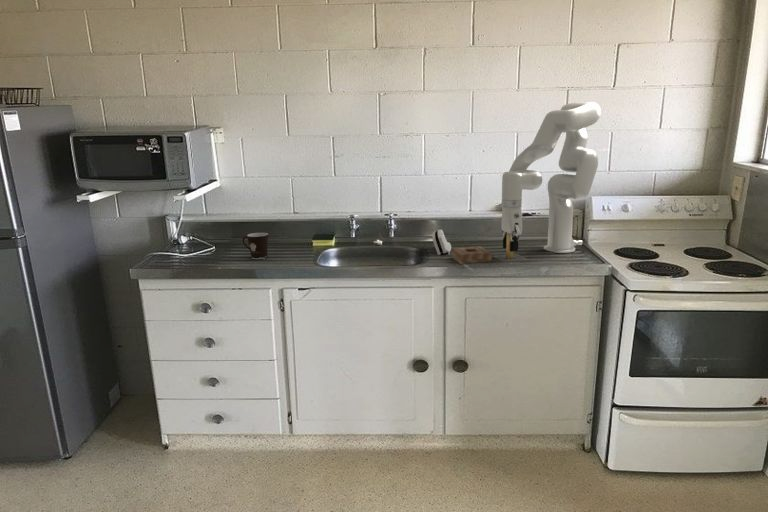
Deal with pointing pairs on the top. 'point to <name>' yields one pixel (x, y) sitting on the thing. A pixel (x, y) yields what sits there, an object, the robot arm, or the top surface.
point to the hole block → (471, 255)
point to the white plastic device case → (441, 242)
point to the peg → (508, 253)
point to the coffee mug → (257, 244)
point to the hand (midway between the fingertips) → (510, 249)
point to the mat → (504, 259)
